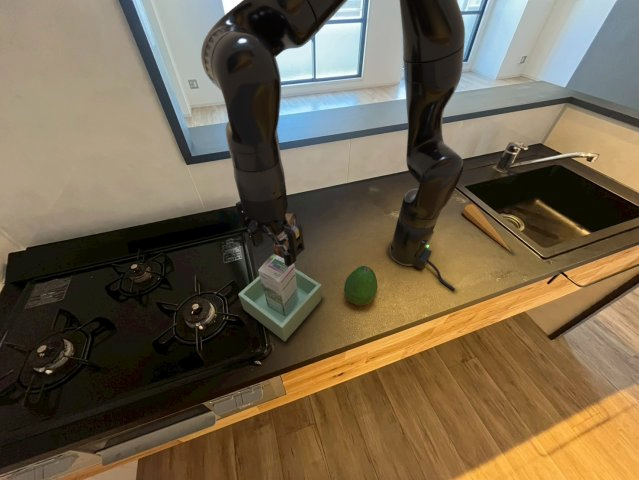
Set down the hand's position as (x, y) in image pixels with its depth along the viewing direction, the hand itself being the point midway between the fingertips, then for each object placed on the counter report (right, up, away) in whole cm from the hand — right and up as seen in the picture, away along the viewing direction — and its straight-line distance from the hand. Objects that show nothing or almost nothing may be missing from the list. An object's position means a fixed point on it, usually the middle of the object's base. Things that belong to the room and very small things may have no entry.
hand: (274, 253), depth 56 cm
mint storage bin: (0, -13, +14) cm, 19 cm away
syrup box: (0, -13, +13) cm, 19 cm away
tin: (-1, +1, +28) cm, 28 cm away
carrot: (+61, +5, +32) cm, 69 cm away
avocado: (+19, -12, +15) cm, 27 cm away
